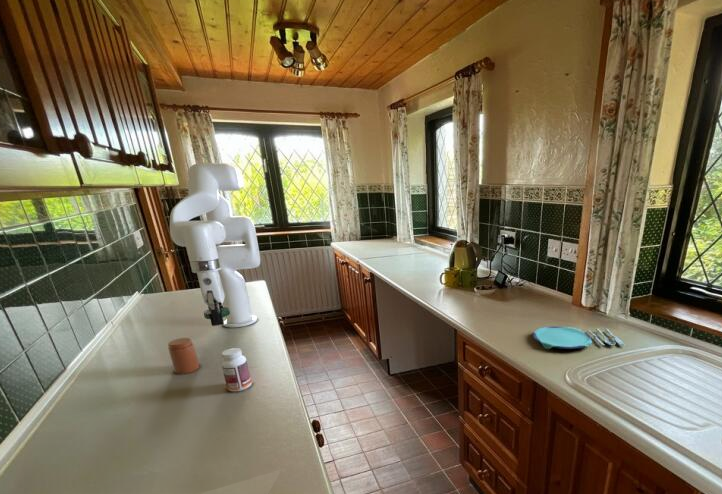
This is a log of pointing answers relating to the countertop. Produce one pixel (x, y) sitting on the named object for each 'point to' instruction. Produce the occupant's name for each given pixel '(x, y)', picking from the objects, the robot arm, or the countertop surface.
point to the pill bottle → (235, 370)
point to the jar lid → (223, 310)
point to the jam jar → (183, 355)
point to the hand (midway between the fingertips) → (218, 320)
